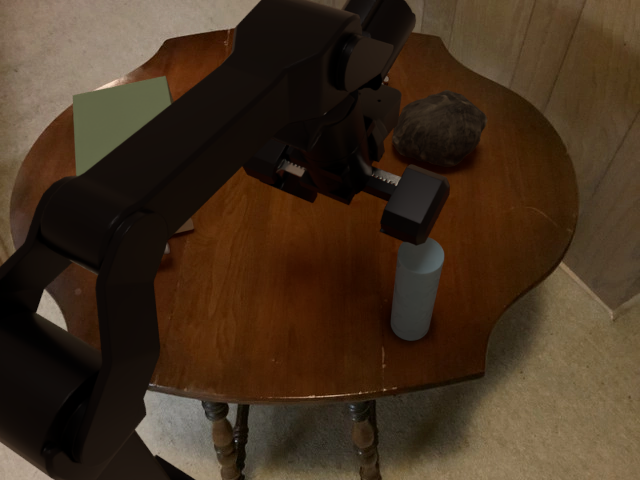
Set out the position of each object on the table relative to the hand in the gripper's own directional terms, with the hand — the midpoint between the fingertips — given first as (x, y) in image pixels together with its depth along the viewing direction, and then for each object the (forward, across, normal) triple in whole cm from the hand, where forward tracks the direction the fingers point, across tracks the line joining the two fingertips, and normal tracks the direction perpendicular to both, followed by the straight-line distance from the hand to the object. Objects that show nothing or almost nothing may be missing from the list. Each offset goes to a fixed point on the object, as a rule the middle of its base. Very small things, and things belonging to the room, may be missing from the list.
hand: (352, 214), depth 62 cm
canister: (+12, -8, +5) cm, 15 cm away
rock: (+19, 0, -20) cm, 28 cm away
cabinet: (+13, +37, -1) cm, 40 cm away
